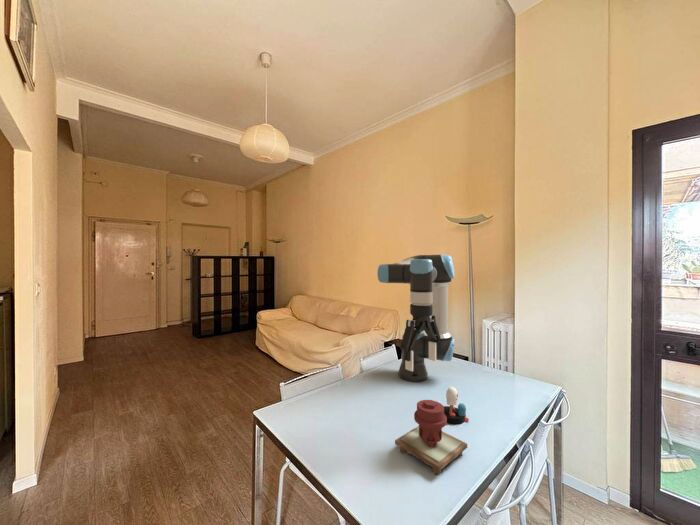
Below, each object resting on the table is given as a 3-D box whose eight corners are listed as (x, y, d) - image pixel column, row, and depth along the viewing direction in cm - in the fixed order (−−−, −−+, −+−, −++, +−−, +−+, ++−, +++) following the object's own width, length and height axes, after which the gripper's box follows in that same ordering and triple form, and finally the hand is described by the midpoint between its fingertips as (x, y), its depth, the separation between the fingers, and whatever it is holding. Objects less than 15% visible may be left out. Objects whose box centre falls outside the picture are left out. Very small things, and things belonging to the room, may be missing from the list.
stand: (424, 431, 103) (424, 421, 103) (467, 453, 91) (467, 442, 91) (394, 450, 93) (395, 439, 93) (438, 478, 80) (438, 465, 80)
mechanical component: (444, 434, 95) (448, 453, 86) (413, 430, 97) (414, 449, 88) (444, 396, 96) (448, 412, 86) (413, 394, 98) (414, 408, 88)
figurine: (469, 427, 105) (469, 395, 105) (437, 421, 109) (437, 390, 109) (468, 415, 114) (468, 384, 114) (439, 410, 118) (439, 380, 118)
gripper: (432, 299, 110) (432, 354, 111) (389, 306, 94) (389, 371, 94) (450, 301, 105) (450, 359, 105) (407, 309, 88) (407, 378, 89)
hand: (421, 364), depth 100 cm, fingers open, 13 cm apart
